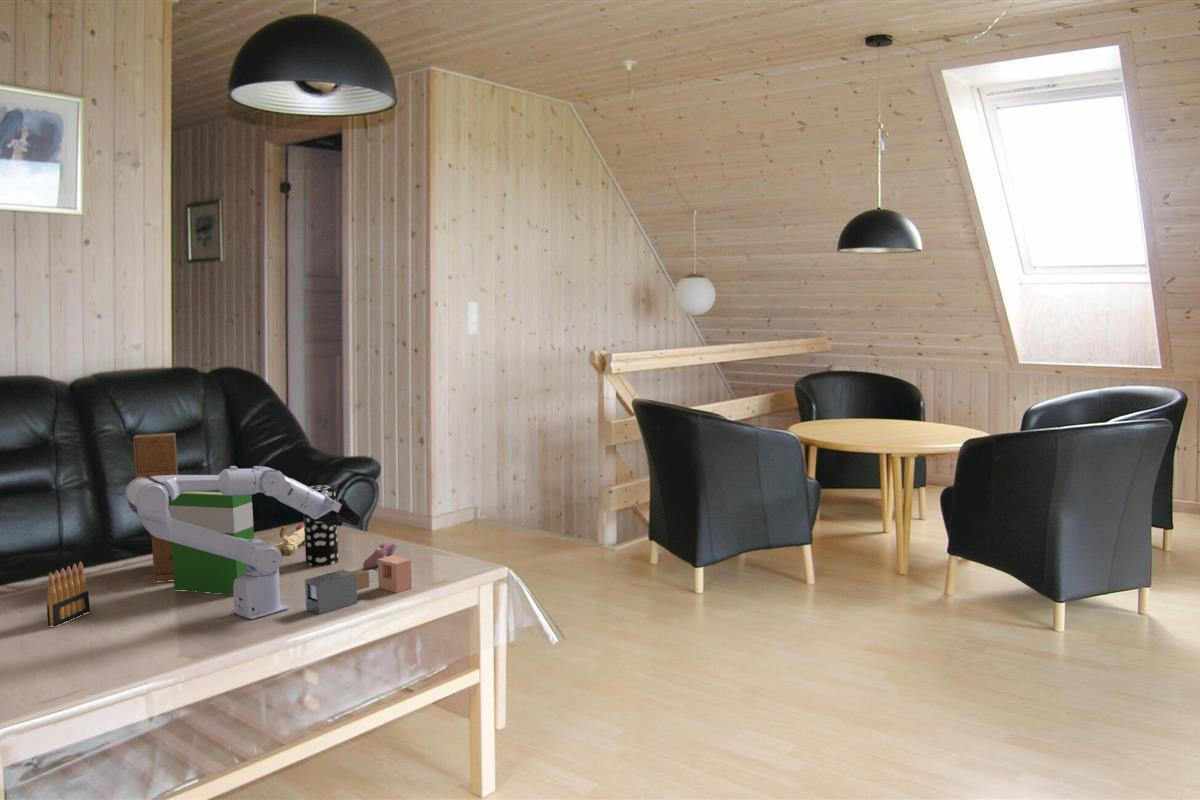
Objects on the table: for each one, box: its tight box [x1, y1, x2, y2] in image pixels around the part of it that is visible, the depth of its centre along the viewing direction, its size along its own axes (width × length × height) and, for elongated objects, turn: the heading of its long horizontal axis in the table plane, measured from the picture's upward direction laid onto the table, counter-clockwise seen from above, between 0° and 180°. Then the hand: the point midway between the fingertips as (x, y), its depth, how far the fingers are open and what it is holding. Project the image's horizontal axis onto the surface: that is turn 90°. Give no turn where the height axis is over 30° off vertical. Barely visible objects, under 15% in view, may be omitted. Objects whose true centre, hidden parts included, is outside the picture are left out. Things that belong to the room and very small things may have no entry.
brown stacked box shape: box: [133, 432, 179, 583], centre depth 252 cm, size 19×14×35 cm
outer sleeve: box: [304, 569, 358, 615], centre depth 221 cm, size 10×5×7 cm, turn 140°
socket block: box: [377, 554, 412, 594], centre depth 235 cm, size 4×7×7 cm, turn 50°
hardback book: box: [169, 490, 255, 595], centre depth 236 cm, size 18×7×24 cm, turn 75°
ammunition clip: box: [46, 561, 91, 627], centre depth 215 cm, size 11×2×12 cm, turn 168°
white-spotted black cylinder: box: [303, 484, 339, 567], centre depth 259 cm, size 8×8×20 cm
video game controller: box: [362, 541, 397, 570], centre depth 256 cm, size 10×5×7 cm, turn 169°
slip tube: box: [310, 568, 378, 599], centre depth 224 cm, size 17×4×4 cm, turn 140°
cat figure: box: [273, 522, 305, 556], centre depth 280 cm, size 10×9×25 cm
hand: (350, 521), depth 231 cm, fingers open, 7 cm apart
